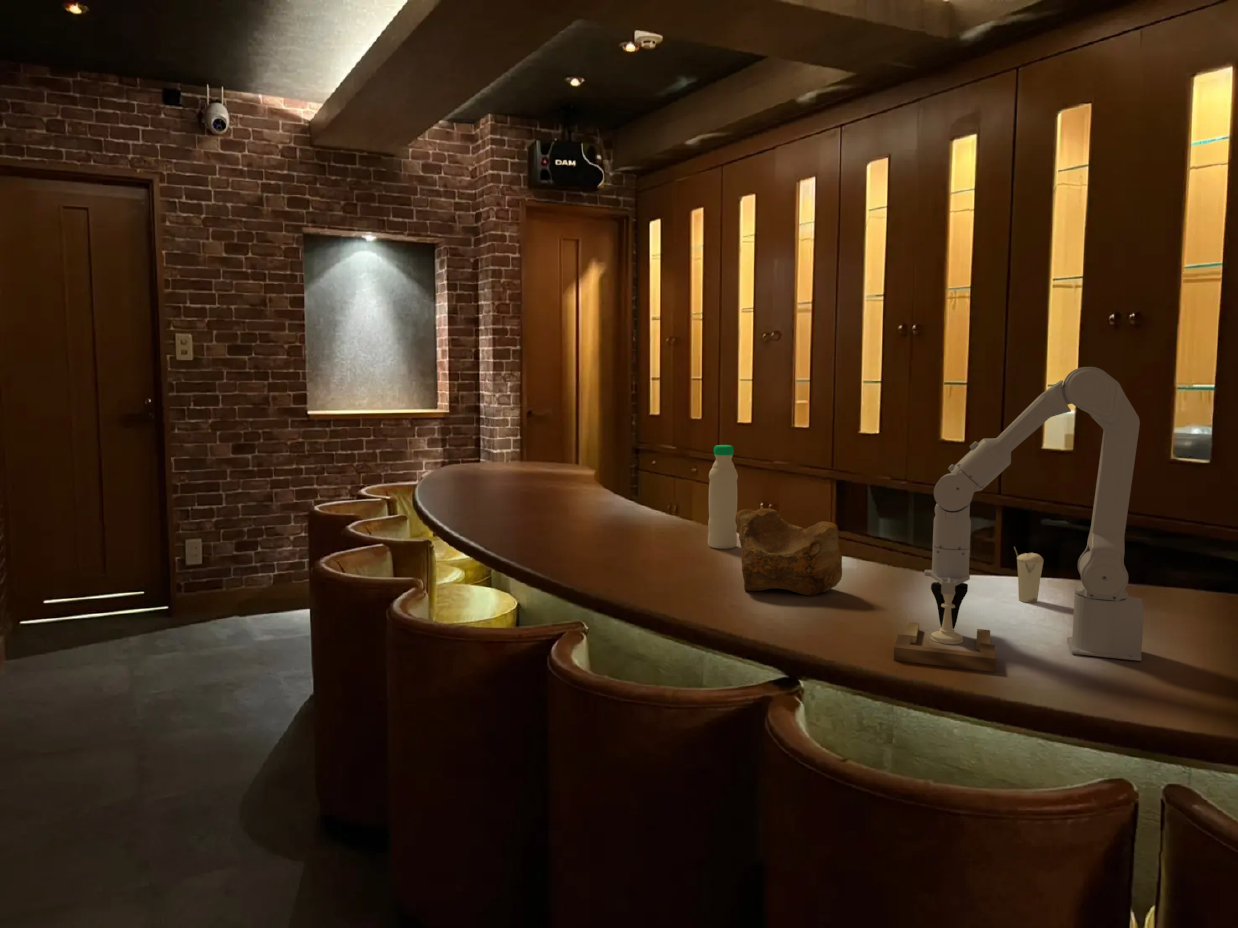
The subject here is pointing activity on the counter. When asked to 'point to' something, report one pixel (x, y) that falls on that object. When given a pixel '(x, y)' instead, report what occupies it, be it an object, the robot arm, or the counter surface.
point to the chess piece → (947, 625)
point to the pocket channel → (913, 630)
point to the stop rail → (945, 655)
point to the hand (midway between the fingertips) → (947, 627)
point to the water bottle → (722, 500)
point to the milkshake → (1029, 576)
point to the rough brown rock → (787, 553)
